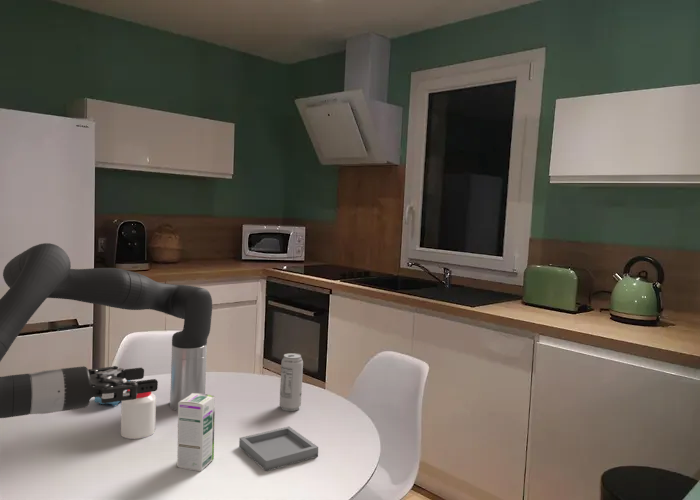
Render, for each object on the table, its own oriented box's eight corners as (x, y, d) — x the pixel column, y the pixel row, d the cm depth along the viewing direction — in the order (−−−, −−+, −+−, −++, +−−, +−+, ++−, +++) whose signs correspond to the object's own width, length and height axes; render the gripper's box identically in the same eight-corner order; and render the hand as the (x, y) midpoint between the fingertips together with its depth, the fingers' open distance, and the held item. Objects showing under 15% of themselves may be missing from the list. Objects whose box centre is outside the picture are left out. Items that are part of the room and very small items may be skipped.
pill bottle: (162, 430, 128) (163, 386, 127) (137, 441, 121) (138, 395, 120) (138, 423, 131) (140, 380, 131) (113, 434, 124) (114, 389, 124)
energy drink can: (304, 409, 146) (307, 357, 145) (285, 413, 143) (288, 359, 142) (294, 402, 151) (296, 351, 150) (275, 405, 148) (278, 353, 147)
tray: (239, 446, 121) (239, 437, 121) (288, 434, 129) (289, 426, 129) (265, 471, 111) (266, 461, 111) (317, 456, 119) (318, 447, 119)
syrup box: (201, 472, 109) (204, 404, 108) (175, 467, 110) (177, 400, 109) (214, 459, 115) (216, 395, 114) (189, 455, 116) (191, 391, 115)
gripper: (67, 380, 88) (163, 369, 99) (52, 359, 100) (140, 351, 110) (65, 424, 89) (161, 408, 99) (50, 398, 100) (138, 386, 110)
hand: (150, 378), depth 104 cm, fingers open, 8 cm apart
